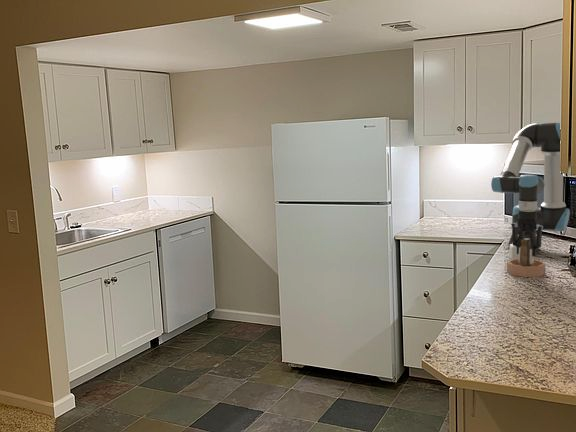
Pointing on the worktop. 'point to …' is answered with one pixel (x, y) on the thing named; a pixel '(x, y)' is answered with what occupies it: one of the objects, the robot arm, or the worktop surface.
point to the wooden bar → (525, 252)
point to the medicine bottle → (514, 250)
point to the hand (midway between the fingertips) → (526, 262)
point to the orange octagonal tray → (526, 268)
